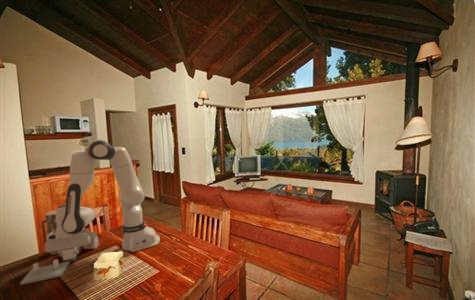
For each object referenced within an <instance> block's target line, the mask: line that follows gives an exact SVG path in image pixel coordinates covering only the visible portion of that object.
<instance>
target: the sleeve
mask: <svg viewBox="0 0 475 300" xmlns="http://www.w3.org/2000/svg"><path fill="white" fill-rule="evenodd" d="M75 250H76V247H74V248H68V249H63V250H62V256H63V257H62V263H64V262H74V261H75V260H76V259H77V256H78V254H75V253H74V252H75Z"/></svg>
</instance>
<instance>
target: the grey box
mask: <svg viewBox="0 0 475 300" xmlns="http://www.w3.org/2000/svg"><path fill="white" fill-rule="evenodd" d="M98 246H99V237H98V234H97V232H96V231H90V243H89V244H88V245H85V246H83V250H93V249H94V250H95V249H97V248H98Z"/></svg>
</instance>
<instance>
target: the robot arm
mask: <svg viewBox="0 0 475 300" xmlns="http://www.w3.org/2000/svg"><path fill="white" fill-rule="evenodd" d="M97 160H98V161H99V160H100V161H103V160H104V161H105V160H106V161H109V163H110V167H111V169H112V171H113V174H114V177H115V181H116V183H117V185H118V188H119V192H118V193H119V199H120V205H121V211H122V223H123V224H122V234H123V239H122V245H121V248H122V250H125V251H129V252H131V253H134V252H138V251H141V250H146V249H148V248H150V247H154V246H157V245H159V243H160V242H161V238H160V235H159V234H158V233H156V231H155V229H154V228H152V227H150V226H148V224H147V222H146V220H143V219H144V218H143V208H142V203H143V202H144V200H145V192H144V190H143V188H142V186H141V185H142V184H141V182H140V181H139V178H138V177H137V174H136V171H135V168H134V165H133V162H132V159H131V156H130V154H129V152H128V150H127V149H126V147H123V146H115V147H114V146H112V145H111V144H110V143H109V142H108V141H107V140H105V139H94V140H92V141H91V142H90V143H89V145H88V146H87V148H86V149H85V150H84V151H78V152H76V153H73V154H72V155H71V159H70V163H69V182H68V183H69V184H68V187H67V192H66V198H65V203H64V204H61V205H59V206H58V207H57V208H56V222H57V225H58V226H57V230H55V231H52V232H51V233H50V234H49V235H48V234H47V235H46V237H45V238H46V241H45V244H44V251H45V252H46V253H49V252H52V251H57V252H58V253H59V254H58V255H60V258H63V256H62V251H61V250H63V249H68V248H74V247H76V248H78V249H77V250H75V252H74V253H75V254H77V255H78V254H79V253H78V252H79V251H78V250H79V248H80V246H82V247H84V246H85V245H88V244H89V243H90V232H91V231H90V230H89V229H87V228H85V227H87V226H88V225H90V223H92V222H93V221H94V220H95V219H96V211H95V209H93V208H92V207H89V206H82V197H83V196H84V194H85V192H87V190H88V189H89V188H90V187H91V186H92V185H93V183H94V180H95V176H96V175H95V174H96V173H95V164H96V162H97Z"/></svg>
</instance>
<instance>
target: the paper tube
mask: <svg viewBox="0 0 475 300" xmlns="http://www.w3.org/2000/svg"><path fill="white" fill-rule="evenodd" d="M56 210H57V209H56ZM56 210H55V209H54V210H51V211H47V212H46V213H45V222H46V231H47V233H46V234H47V236H48V235H49V234H50V233H51V232H52V231H55V230H57V226H58V225H57V222H56ZM61 251H62V250H61ZM48 253H49V255H51V256H52V255H53V256H55V255H60V254H59V253H58V252H57V251H52V252H48Z"/></svg>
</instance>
